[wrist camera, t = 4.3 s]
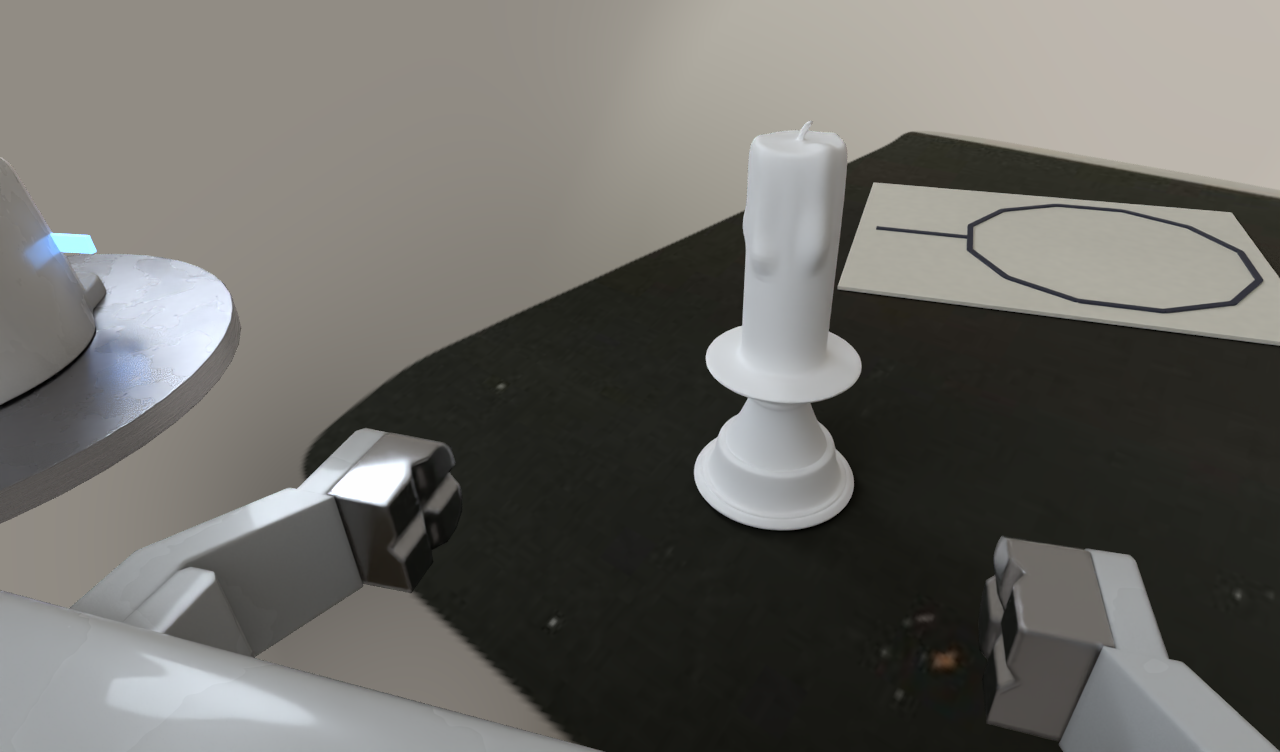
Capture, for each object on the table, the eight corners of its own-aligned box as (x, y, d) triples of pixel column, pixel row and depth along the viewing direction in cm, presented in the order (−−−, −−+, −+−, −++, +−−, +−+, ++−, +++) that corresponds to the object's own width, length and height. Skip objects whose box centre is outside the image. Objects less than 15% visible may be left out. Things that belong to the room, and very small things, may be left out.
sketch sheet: (837, 289, 38) (838, 284, 38) (873, 185, 50) (873, 181, 50) (1328, 352, 32) (1331, 345, 31) (1230, 215, 44) (1232, 210, 44)
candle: (886, 504, 25) (959, 128, 18) (741, 553, 23) (763, 161, 17) (797, 416, 29) (830, 85, 22) (668, 453, 27) (664, 108, 21)
